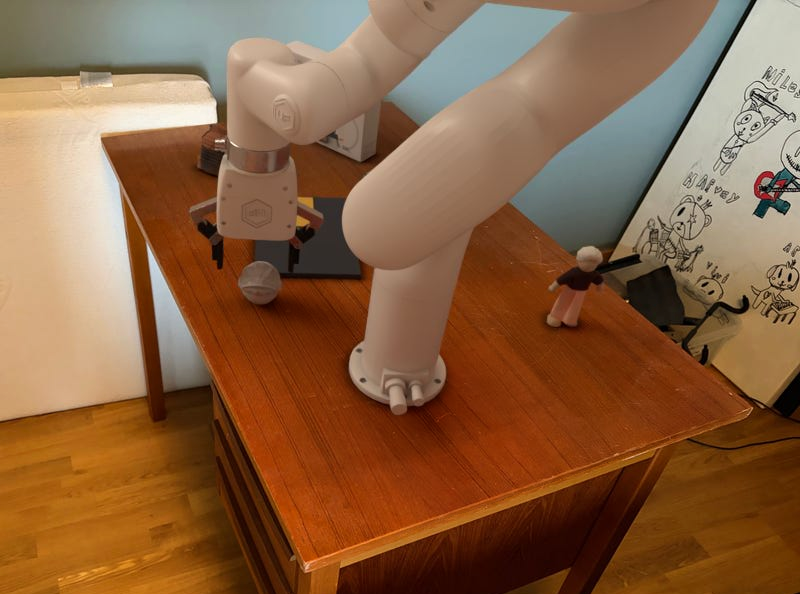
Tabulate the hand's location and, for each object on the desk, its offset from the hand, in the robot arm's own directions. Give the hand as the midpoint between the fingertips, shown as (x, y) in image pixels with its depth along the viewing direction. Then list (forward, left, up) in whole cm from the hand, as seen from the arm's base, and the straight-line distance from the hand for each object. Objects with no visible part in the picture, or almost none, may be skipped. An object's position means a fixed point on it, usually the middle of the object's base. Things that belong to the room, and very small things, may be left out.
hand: (255, 265), depth 95 cm
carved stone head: (-1, -1, -6) cm, 6 cm away
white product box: (+50, -13, -6) cm, 52 cm away
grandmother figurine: (-4, -45, -6) cm, 45 cm away
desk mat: (+16, -8, -6) cm, 19 cm away
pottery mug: (+38, +6, -6) cm, 40 cm away
